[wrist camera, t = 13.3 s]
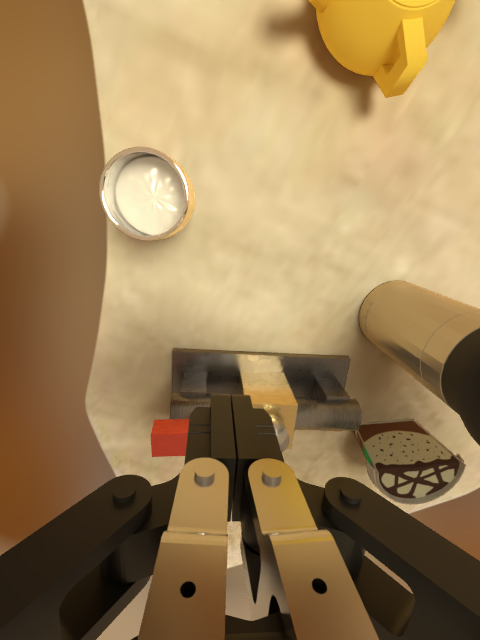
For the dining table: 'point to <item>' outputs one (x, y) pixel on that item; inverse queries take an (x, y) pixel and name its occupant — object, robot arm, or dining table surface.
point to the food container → (408, 461)
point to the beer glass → (146, 194)
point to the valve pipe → (268, 386)
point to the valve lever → (174, 433)
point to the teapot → (382, 36)
